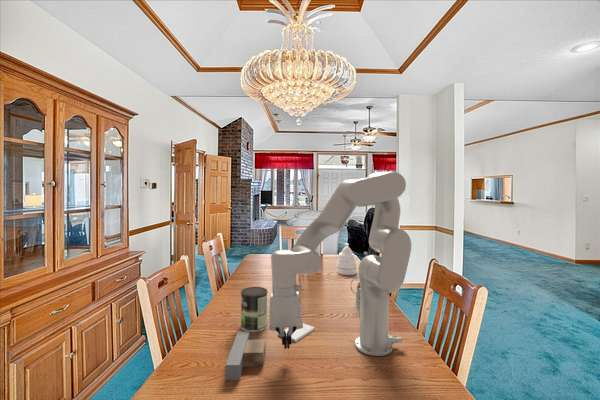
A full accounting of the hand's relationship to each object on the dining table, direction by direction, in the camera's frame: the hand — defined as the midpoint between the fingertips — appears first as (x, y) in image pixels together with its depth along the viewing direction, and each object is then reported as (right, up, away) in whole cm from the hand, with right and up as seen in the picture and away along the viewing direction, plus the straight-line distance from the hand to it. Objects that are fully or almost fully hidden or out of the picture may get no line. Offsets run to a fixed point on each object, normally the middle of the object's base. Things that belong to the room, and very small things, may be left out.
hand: (287, 346), depth 98 cm
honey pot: (+34, 0, +102) cm, 107 cm away
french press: (+34, -3, +47) cm, 58 cm away
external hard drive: (+3, -4, +19) cm, 19 cm away
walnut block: (-10, -4, +1) cm, 11 cm away
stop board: (-15, -4, 0) cm, 16 cm away
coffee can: (-14, -3, +24) cm, 28 cm away
